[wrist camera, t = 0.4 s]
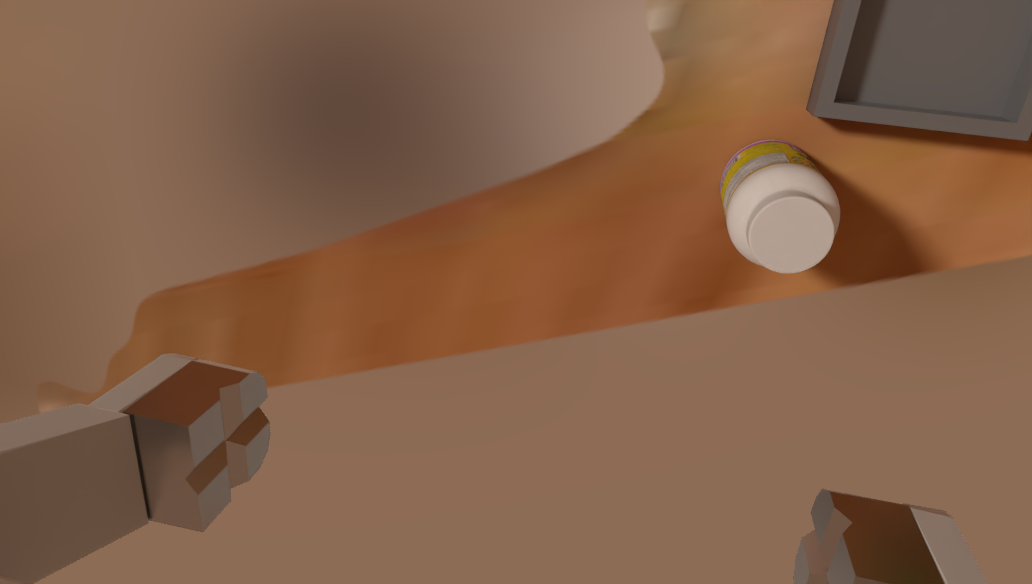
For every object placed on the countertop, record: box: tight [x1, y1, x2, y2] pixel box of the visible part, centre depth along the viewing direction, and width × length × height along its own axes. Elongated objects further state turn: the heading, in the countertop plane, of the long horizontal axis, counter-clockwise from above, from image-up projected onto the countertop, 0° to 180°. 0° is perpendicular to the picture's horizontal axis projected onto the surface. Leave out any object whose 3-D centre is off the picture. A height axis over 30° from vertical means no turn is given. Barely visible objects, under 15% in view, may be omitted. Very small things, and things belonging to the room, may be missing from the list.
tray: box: [806, 0, 1032, 141], centre depth 42 cm, size 15×13×3 cm
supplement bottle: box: [720, 140, 840, 273], centre depth 45 cm, size 7×7×13 cm
